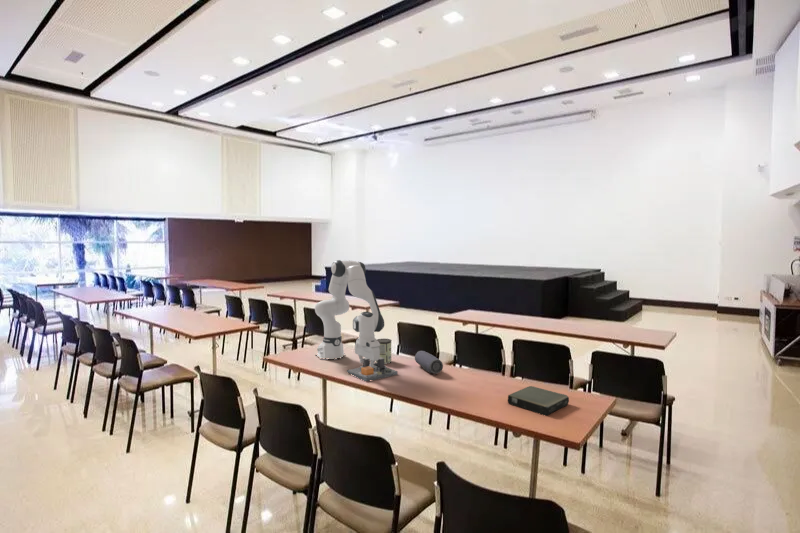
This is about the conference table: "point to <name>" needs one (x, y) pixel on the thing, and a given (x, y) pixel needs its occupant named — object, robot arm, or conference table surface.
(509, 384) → the conference table surface
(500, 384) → the conference table surface
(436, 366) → the bluetooth speaker
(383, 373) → the panel
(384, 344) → the coffee can
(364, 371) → the orange block
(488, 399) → the conference table surface
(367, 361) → the block
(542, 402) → the network switch
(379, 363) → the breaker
